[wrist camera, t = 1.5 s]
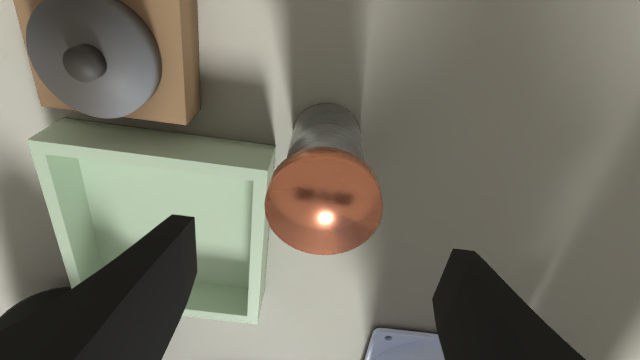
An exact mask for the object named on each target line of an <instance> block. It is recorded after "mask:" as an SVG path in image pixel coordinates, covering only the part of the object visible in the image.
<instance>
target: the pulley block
mask: <svg viewBox="0 0 640 360" xmlns="http://www.w3.org/2000/svg"><path fill="white" fill-rule="evenodd" d="M13 1H14V5H15V9H16V13H17V17H18V20H19V24H20V28H21V32H22V35H23V39H24V43H25V47H26V51H27V54H28V58H29V62H30V66H31V70H32V73H33V77H34V81H35V85H36V88H37V92H38V96H39V100H40V104H41V106H44V107H51V108H59V109H67V110H74V111H79V112H81V113H83V114H86V115H89V116H93V117H98V118H107V119H109V118H118V117H127V118H134V119H142V120H150V121H157V122H165V123H172V124H180V125H187V124H188V123H189V122H190V121H191V120H192V118H193V117H194V116H195V115H196V114H197V113H198V111H199V110H200V109H201V99H200V70H199V42H198V13H197V0H13Z"/></svg>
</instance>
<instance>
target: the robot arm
mask: <svg viewBox="0 0 640 360" xmlns="http://www.w3.org/2000/svg"><path fill="white" fill-rule="evenodd" d="M197 272H198V271H197V252H196V233H195V217H191V216H183V215H174V214H172V215H170V216H169V217H168V218H166V219H165V220H164V221H163V222H161V223H160V224H159V225H157V226H156V227H155V228H154V229H152V230H151V231H150V232H149V233H147V234H146V235H145V236H144V237H142V238H141V239H140V240H138V241H137V242H136V243H135V244H133V245H132V246H131V247H129V248H128V249H127V250H125V251H124V252H123V253H121V254H120V255H119V256H118V257H116V258H115V259H114V260H112V261H111V262H110V263H108V264H107V265H105V266H104V267H103V268H101V269H100V270H98V271H97V272H96V273H94V274H93V275H91V276H90V277H88V278H87V279H85V280H84V281H82V282H81V283H80V284H78V285H77V286H75V287H74V288H72V289H71V290H69V291H68V292H66V293H65V294H63V295H61V296H60V297H58V298H57V299H55V300H54V301H52V302H50V303H49V304H47V305H45V306H44V307H42V308H40V309H38V310H37V311H35V312H33V313H32V314H30V315H28V316H27V317H25V318H23V319H21V320H20V321H18V322H16V323H14V324H12V325H10V326H9V327H7V328H5V329H3V330H1V331H0V360H161V359H162V357H163V355H164V353H165V351H166V349H167V347H168V344H169V342H170V340H171V338H172V336H173V334H174V332H175V329H176V327H177V325H178V323H179V321H180V319H181V316H182V314H183V312H184V310H185V308H186V305H187V302H188V300H189V297H190V294H191V291H192V288H193V284H194V281H195V278H196V275H197ZM432 300H433V307H434V315H435V321H436V327H437V333H438V334H432V333H423V332H414V331H406V330H397V329H388V328H377V329H375V330H374V331H373V334H372V337H371V340H370V343H369V346H368V349H367V353H366V356H365V359H364V360H586V359H584V358H583V357H582V356H581V355H580V354H579V353H578V352H576V351H575V350H574V349H573V348H572V347H571V346H570V345H569V344H568V343H567V342H565V341H564V340H563V339H562V338H561V337H560V336H559V335H558V334H557V333H556V332H555V331H554V330H552V329H551V328H550V327H549V326H548V325H547V324H546V323H545V322H544V321H543V320H542V319H541V318H540V317H539V316H538V315H537V314H536V313H535V312H534V311H533V310H532V309H531V308H530V307H529V306H528V305H527V304H526V303H525V302H524V301H523V300H522V299H521V298H520V297H519V296H518V295H517V294H516V293H515V292H514V291H513V290H512V289H511V288H510V287H509V286H508V285H507V284H506V283H505V282H504V280H503V279H502V278H501V277H500V276H499V275H498V274H497V273H496V272H495V271H494V270H493V269H492V268H491V267H490V266H489V265H488V264H487V263H486V262H485V261H484V260H483V259H482V258H481V257H480V256H479V255H478V254H477V253H476V252H475V251H469V250H461V249H453V250H452V253H451V255H450V257H449V260H448V262H447V265H446V267H445V269H444V272H443V274H442V277H441V279H440V282H439V284H438V286H437V289H436V291H435V294H434V296H433V298H432Z"/></svg>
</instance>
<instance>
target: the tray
mask: <svg viewBox="0 0 640 360" xmlns="http://www.w3.org/2000/svg"><path fill="white" fill-rule="evenodd" d="M27 141H28V145H29V148H30V151H31V155H32V158H33V161H34V165H35V168H36V171H37V175H38V178H39V181H40V185H41V188H42V191H43V195H44V198H45V202H46V205H47V208H48V212H49V215H50V218H51V222H52V225H53V228H54V232H55V235H56V238H57V242H58V245H59V248H60V252H61V255H62V258H63V262H64V265H65V268H66V272H67V275H68V279H69V282H70V285H71V289H72V288H74V287H75V286H77V285H78V284H80V283H81V282H82V281H84V280H85V279H87V278H88V277H90V276H91V275H93V274H94V273H96V272H97V271H98V270H100V269H101V268H103V267H104V266H105V265H107V264H108V263H110V262H111V261H112V260H114V259H115V258H116V257H118V256H119V255H120V254H121V253H123V252H124V251H125V250H127V249H128V248H129V247H131V246H132V245H133V244H135V243H136V242H137V241H138V240H140V239H141V238H142V237H144V236H145V235H146V234H147V233H149V232H150V231H151V230H152V229H154V228H155V227H156V226H157V225H159V224H160V223H161V222H163V221H164V220H165V219H166V218H168V217H169V216H170V215H172V214H174V215H183V216H191V217H195V233H196V252H197V271H198V272H197V275H196V278H195V281H194V284H193V288H192V291H191V294H190V297H189V300H188V302H187V305H186V308H185V310H184V312H183V314H182V316H187V317H196V318H205V319H214V320H222V321H231V322H240V323H249V324H258V319H259V314H260V310H261V305H262V300H263V295H264V289H265V276H266V263H267V250H268V237H269V223H268V221H267V218H266V215H265V206H264V203H265V196H266V193H267V189H268V186H269V182H270V179H271V177H272V175H273V172H274V159H275V146H274V145H266V144H259V143H251V142H244V141H236V140H228V139H221V138H213V137H206V136H198V135H190V134H183V133H175V132H168V131H160V130H153V129H145V128H137V127H130V126H122V125H115V124H107V123H99V122H92V121H84V120H77V119H69V118H62V119H61V120H59V121H57V122H56V123H54V124H52V125H51V126H49V127H47V128H46V129H44V130H42V131H41V132H39V133H38V134H36V135H34V136H33V137H31V138H29V139H28V140H27Z"/></svg>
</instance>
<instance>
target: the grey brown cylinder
mask: <svg viewBox="0 0 640 360" xmlns="http://www.w3.org/2000/svg"><path fill="white" fill-rule="evenodd" d="M264 206H265V215H266V218H267V221H268V223H269V225H270V227H271V229H272V230H273V231H274V233H275V234H276V235H277V236H278V237H279V238H280V239H281V240H282V241H284V242H285V243H286V244H288V245H289V246H291V247H293V248H295V249H298V250H300V251H303V252H306V253H311V254H317V255H332V254H339V253H343V252H346V251H349V250H352V249H354V248H356V247H358V246H359V245H361V244H362V243H364V242H365V241H366V240H367V239H369V237H370V236H371V235H372V234H373V233H374V232H375V230H376V229H377V227H378V225H379V223H380V220H381V217H382V209H383V204H382V198H381V192H380V187H379V183H378V180H377V178H376V176H375V174H374V172H373V171H372V169H371V168H370V167H369V166H368V165H367V164H366V163H365V162H364V157H363V150H362V143H361V136H360V129H359V125H358V122H357V120H356V119H355V117H354V116H353V115H352V114H351V113H350V112H349V111H348V110H347V109H345V108H344V107H341V106H339V105H336V104H331V103H322V104H317V105H314V106H312V107H310V108H308V109H306V110H305V111H304V112H303V113H302V114H301V115H300V116H299V118H298V119H297V121H296V123H295V126H294V130H293V134H292V138H291V143H290V147H289V151H288V155H287V158H286V159H285V160H284V161H283V162H282V163H281V164H280V165H279V166H278V167H277V168H276V170H275V171H274V173H273V175H272V177H271V179H270V182H269V186H268V189H267V193H266V196H265V203H264Z"/></svg>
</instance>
